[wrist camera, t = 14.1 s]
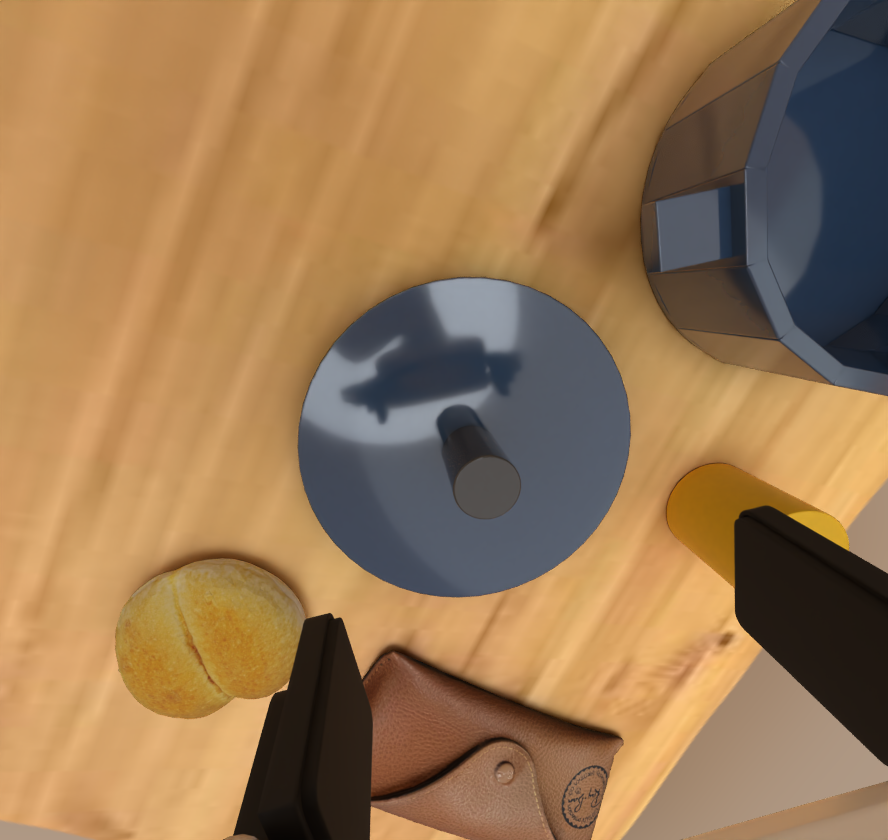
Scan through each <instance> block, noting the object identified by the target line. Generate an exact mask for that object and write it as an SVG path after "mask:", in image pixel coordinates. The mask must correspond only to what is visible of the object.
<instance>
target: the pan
mask: <svg viewBox="0 0 888 840" xmlns="http://www.w3.org/2000/svg"><path fill="white" fill-rule="evenodd" d="M641 244H642V251H643V258H644V264H645V268H646V271H647V275H648V279H649V282H650V285H651V287H652V290H653V292H654V294H655V297H656V299H657V301H658V303H659V305H660V306H661V308H662V310H663V311H664V313H665V315H666V316H667V318H668V319H669V320H670V322H671V323H672V324H673V325H674V327H675V328H676V329H677V330H678V331H679V333H681V334H682V335H683V336H684V337H685V338H686V339H687V340H688V341H689V342H691V343H692V344H693V345H694V346H696V347H697V348H699V349H700V350H702V351H704V352H705V353H707V354H709V355H711V356H713V357H715V358H716V359H717V360H718V361H720V362H723V363H728V364H733V365H737V366H742V367H747V368H752V369H757V370H761V371H766V372H771V373H776V374H781V375H785V376H790V377H795V378H800V379H805V380H809V381H814V382H819V383H824V384H829V385H833V386H838V387H844V388H849V389H854V390H859V391H864V392H869V393H874V394H879V395H884V396H888V0H797V1H796V2H794V3H793V4H792V5H790V6H789V7H787V8H786V9H785V10H783V11H782V12H781V13H779V14H778V15H776V16H775V17H774V18H772V19H771V20H770V21H768V22H767V23H765V24H764V25H763V26H761V27H760V28H759V29H757V30H756V31H754V32H753V33H752V34H750V35H749V36H748V37H746V38H745V39H743V40H742V41H741V42H739V43H738V44H737V45H735V46H734V47H732V48H731V49H730V50H728V51H727V52H726V53H724V54H723V55H722V56H720V57H719V58H717V59H716V60H715V61H713V62H712V63H711V64H710V65H709V66H708V67H707V69H706V70H705V71H704V73H703V74H702V76H701V77H700V78H699V79H698V80H697V81H696V82H695V83H694V84H693V86H692V87H691V88H690V90H689V91H688V92H687V93H686V95H685V96H684V97H683V99H682V100H681V101H680V103H679V104H678V106H677V108H676V109H675V111H674V113H673V114H672V116H671V118H670V119H669V121H668V123H667V124H666V127H665V129H664V131H663V133H662V135H661V137H660V140H659V142H658V144H657V146H656V149H655V152H654V155H653V158H652V161H651V164H650V167H649V170H648V174H647V178H646V183H645V188H644V192H643V200H642V210H641Z"/></svg>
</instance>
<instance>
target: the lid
mask: <svg viewBox="0 0 888 840" xmlns="http://www.w3.org/2000/svg"><path fill="white" fill-rule="evenodd" d="M630 437H631V431H630V412H629V406H628V400H627V394H626V391H625V388H624V385H623V381H622V378H621V375H620V373H619V371H618V369H617V366H616V364H615V362H614V360H613V358H612V356H611V354H610V353H609V351H608V350H607V348H606V347H605V345H604V344H603V342H602V341H601V339H600V338H599V337H598V335H597V334H596V333H595V332H594V331H593V330H592V329H591V328H590V326H589V325H588V324H587V323H586V322H585V321H584V320H583V319H581V318H580V317H579V316H578V315H577V314H576V313H574V312H573V311H572V310H571V309H570V308H568V307H567V306H565V305H564V304H562V303H560V302H559V301H557V300H556V299H554V298H552V297H551V296H549V295H547V294H545V293H542V292H540V291H538V290H536V289H533V288H531V287H529V286H525V285H522V284H518V283H515V282H511V281H507V280H501V279H494V278H486V277H457V278H450V279H443V280H436V281H432V282H429V283H425V284H422V285H418V286H415V287H411V288H409V289H407V290H405V291H402V292H400V293H398V294H395V295H393V296H391V297H389V298H387V299H386V300H384V301H382V302H381V303H379V304H378V305H376V306H374V307H373V308H371V309H369V310H368V311H367V312H366V313H365V314H363V315H362V316H361V317H360V318H358V319H357V320H356V321H355V322H354V323H352V324H351V325H350V326H349V327H348V328H347V329H346V330H345V331H344V333H343V334H342V335H341V336H340V337H339V338H338V339H337V340H336V341H335V342H334V344H333V345H332V347H331V348H330V349H329V351H328V352H327V354H326V355H325V357H324V358H323V359H322V361H321V362H320V364H319V366H318V368H317V370H316V372H315V374H314V376H313V378H312V380H311V382H310V385H309V388H308V391H307V394H306V397H305V399H304V402H303V406H302V411H301V417H300V422H299V431H298V457H299V468H300V473H301V477H302V481H303V485H304V490H305V492H306V495H307V497H308V500H309V502H310V505H311V507H312V510H313V511H314V513H315V515H316V517H317V519H318V520H319V522H320V524H321V526H322V527H323V529H324V530H325V531H326V533H327V534H328V535H329V537H330V538H331V539H332V541H333V542H334V543H335V544H336V545H337V546H338V547H339V548H340V549H341V550H342V551H343V552H344V553H345V554H346V555H347V556H348V557H349V558H350V559H351V560H353V561H354V562H355V563H356V564H358V565H359V566H360V567H362V568H363V569H364V570H366V571H368V572H369V573H371V574H373V575H374V576H376V577H378V578H380V579H381V580H383V581H386V582H388V583H390V584H393V585H395V586H397V587H400V588H403V589H406V590H410V591H413V592H417V593H421V594H427V595H433V596H440V597H471V596H481V595H487V594H492V593H497V592H501V591H504V590H507V589H511V588H514V587H517V586H520V585H522V584H524V583H527V582H529V581H531V580H534V579H536V578H537V577H539V576H541V575H543V574H544V573H546V572H548V571H550V570H552V569H553V568H555V567H556V566H557V565H559V564H560V563H561V562H563V561H564V560H565V559H567V558H568V557H569V556H571V555H572V554H573V553H574V552H575V551H576V550H577V549H578V548H579V547H580V546H581V545H582V544H584V542H585V541H586V540H587V539H588V538H589V537H590V535H591V534H592V533H593V532H594V531H595V530H596V529H597V527H598V526H599V524H600V523H601V521H602V520H603V518H604V517H605V515H606V514H607V512H608V511H609V509H610V507H611V505H612V503H613V501H614V499H615V497H616V495H617V493H618V490H619V487H620V485H621V482H622V479H623V477H624V473H625V469H626V464H627V460H628V456H629V447H630Z"/></svg>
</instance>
